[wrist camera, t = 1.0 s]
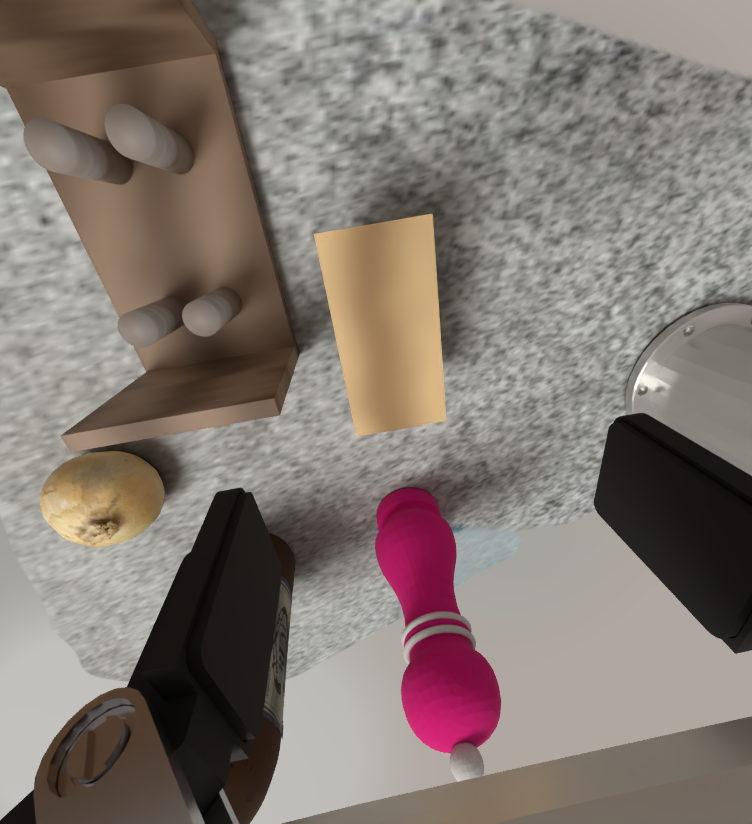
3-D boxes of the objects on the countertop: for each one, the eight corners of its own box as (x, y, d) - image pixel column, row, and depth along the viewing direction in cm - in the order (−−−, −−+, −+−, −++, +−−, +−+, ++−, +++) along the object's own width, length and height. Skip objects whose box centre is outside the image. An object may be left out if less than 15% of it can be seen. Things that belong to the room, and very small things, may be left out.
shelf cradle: (214, 36, 19) (103, -133, 10) (299, 354, 27) (279, 415, 18) (10, 70, 19) (-284, -71, 10) (158, 379, 27) (71, 452, 18)
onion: (133, 522, 33) (85, 590, 27) (53, 469, 30) (-22, 532, 24) (194, 480, 32) (158, 542, 26) (117, 419, 28) (54, 473, 22)
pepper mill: (453, 491, 35) (568, 757, 18) (425, 542, 38) (498, 813, 20) (386, 475, 33) (438, 752, 16) (361, 530, 36) (382, 814, 19)
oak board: (422, 215, 20) (432, 213, 18) (437, 404, 25) (446, 420, 23) (316, 233, 20) (313, 233, 17) (355, 419, 25) (356, 436, 23)
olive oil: (249, 606, 40) (140, 1063, 18) (173, 558, 36) (-94, 1086, 14) (321, 563, 38) (297, 1023, 16) (250, 506, 34) (80, 1034, 12)
